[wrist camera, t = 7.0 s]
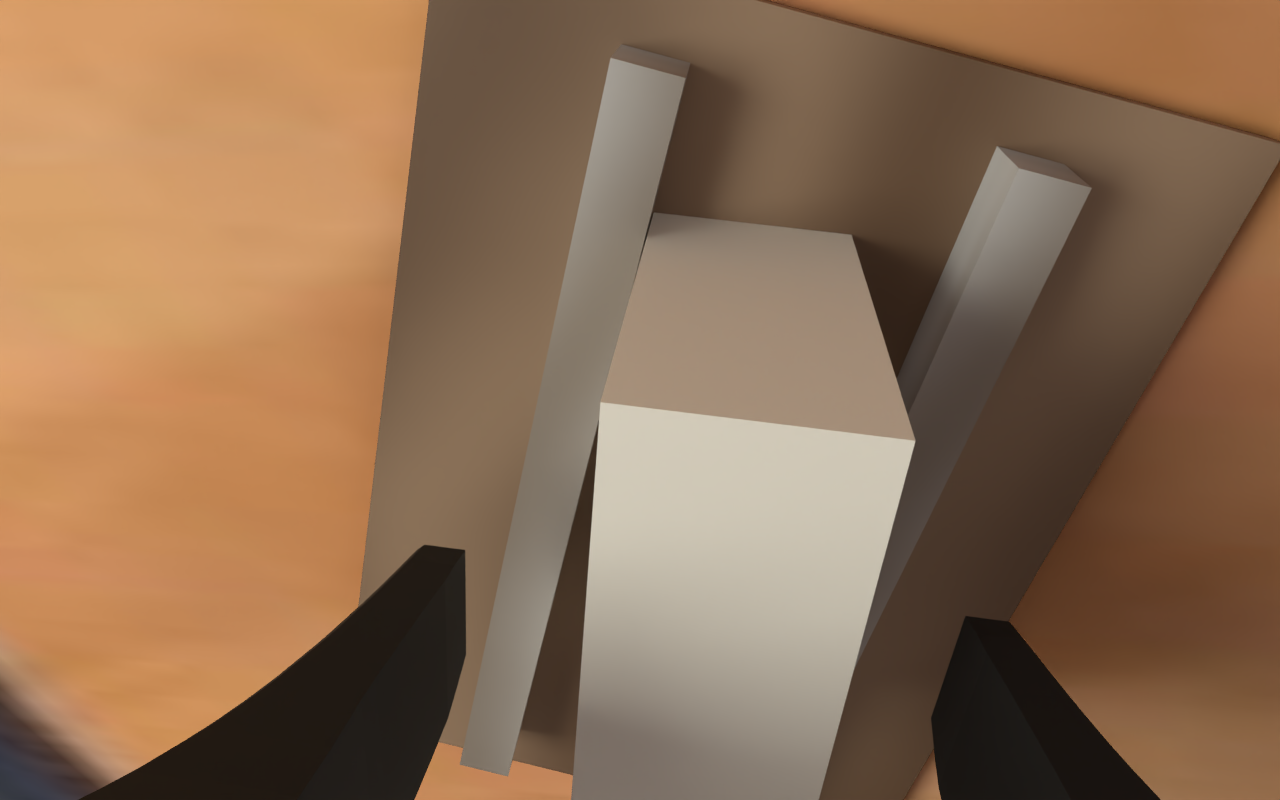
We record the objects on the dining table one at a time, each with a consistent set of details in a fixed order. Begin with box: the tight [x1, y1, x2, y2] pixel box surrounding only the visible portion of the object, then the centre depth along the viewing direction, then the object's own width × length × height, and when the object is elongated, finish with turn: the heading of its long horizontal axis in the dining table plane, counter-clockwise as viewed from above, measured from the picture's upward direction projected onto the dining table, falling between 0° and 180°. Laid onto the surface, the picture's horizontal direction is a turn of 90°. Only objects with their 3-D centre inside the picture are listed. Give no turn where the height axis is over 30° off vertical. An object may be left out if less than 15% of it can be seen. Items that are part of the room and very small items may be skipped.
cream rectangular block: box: [571, 212, 915, 800], centre depth 14 cm, size 3×9×6 cm, turn 175°
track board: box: [358, 0, 1280, 800], centre depth 16 cm, size 12×16×2 cm
